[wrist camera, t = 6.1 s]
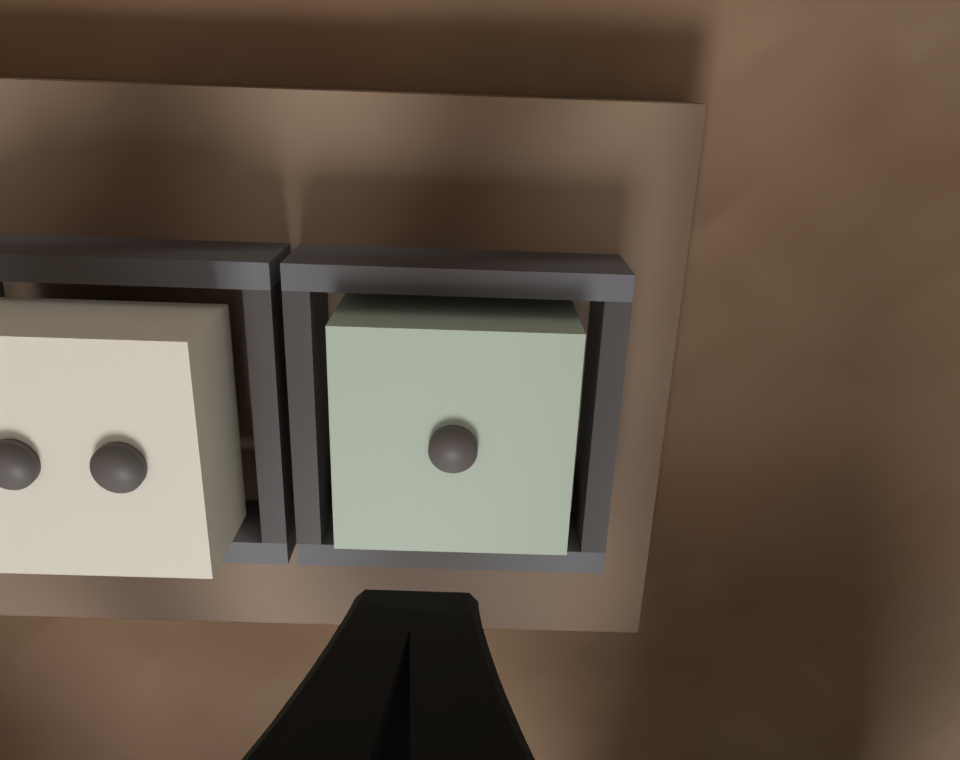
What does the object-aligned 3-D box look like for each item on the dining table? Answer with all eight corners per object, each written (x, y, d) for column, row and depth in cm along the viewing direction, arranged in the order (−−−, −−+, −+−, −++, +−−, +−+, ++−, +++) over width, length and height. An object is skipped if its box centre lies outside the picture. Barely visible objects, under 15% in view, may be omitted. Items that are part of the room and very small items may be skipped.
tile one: (571, 300, 16) (586, 337, 13) (555, 498, 17) (567, 560, 15) (345, 292, 16) (323, 328, 13) (351, 492, 17) (332, 553, 15)
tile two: (228, 303, 15) (184, 345, 12) (246, 514, 16) (209, 584, 14) (-17, 296, 15) (-105, 336, 12) (26, 508, 16) (-45, 577, 14)
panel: (687, 101, 16) (735, 108, 13) (627, 594, 20) (652, 684, 17) (-415, 61, 16) (-624, 58, 13) (-235, 570, 20) (-360, 656, 17)
